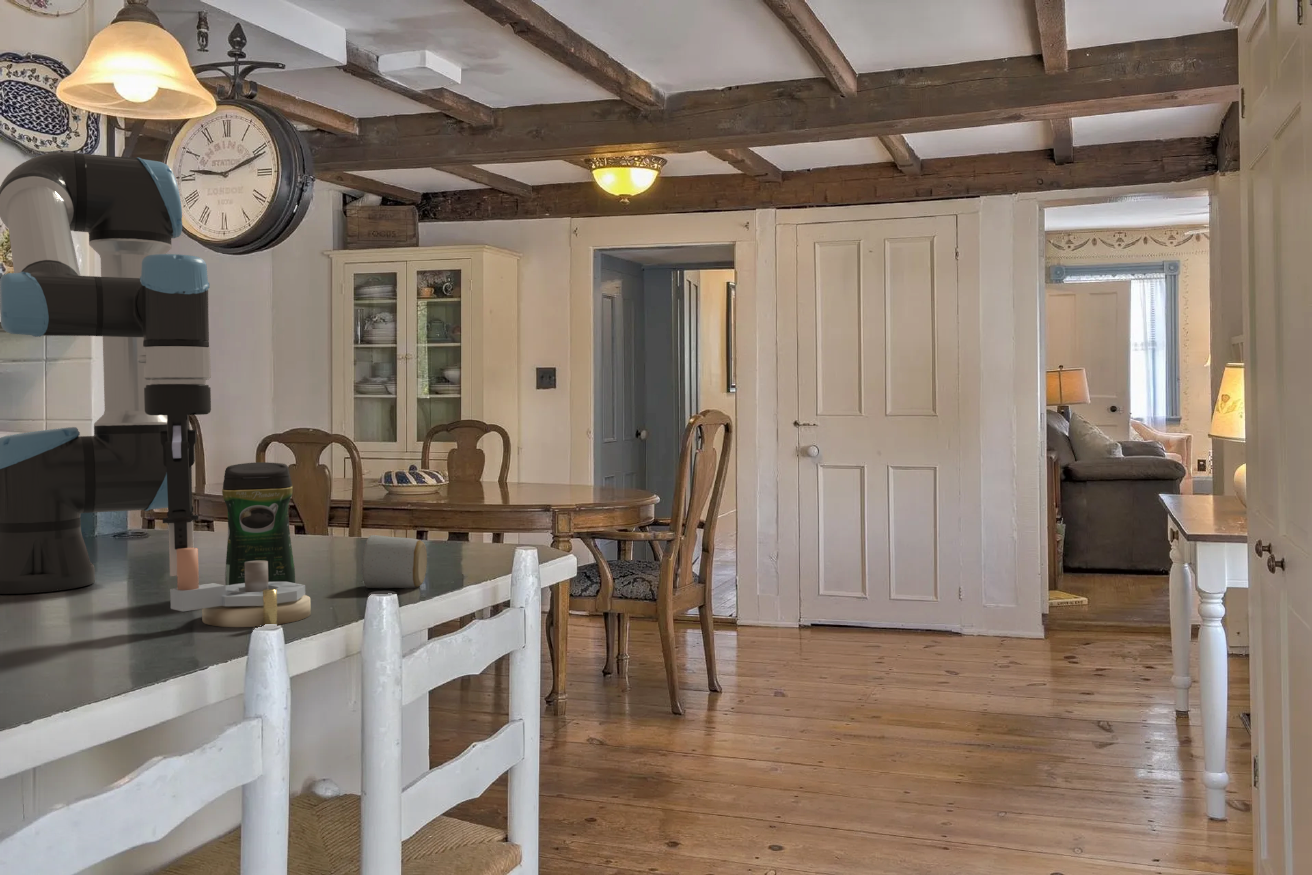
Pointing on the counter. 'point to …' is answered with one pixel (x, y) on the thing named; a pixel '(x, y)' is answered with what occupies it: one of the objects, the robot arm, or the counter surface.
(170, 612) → the counter surface
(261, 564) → the pedestal
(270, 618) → the dowel pin
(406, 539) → the ceramic mug
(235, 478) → the coffee jar
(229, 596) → the grey base with pegs
